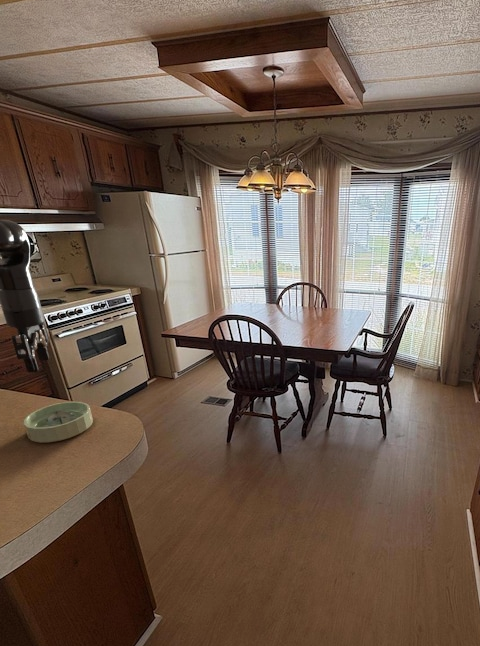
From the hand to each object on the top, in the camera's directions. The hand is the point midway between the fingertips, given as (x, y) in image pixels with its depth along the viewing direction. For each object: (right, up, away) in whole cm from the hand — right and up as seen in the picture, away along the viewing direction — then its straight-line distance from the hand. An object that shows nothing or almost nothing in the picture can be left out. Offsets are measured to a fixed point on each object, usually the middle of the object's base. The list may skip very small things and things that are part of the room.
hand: (39, 365), depth 92 cm
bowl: (0, -18, +8) cm, 20 cm away
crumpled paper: (0, -18, +8) cm, 20 cm away
